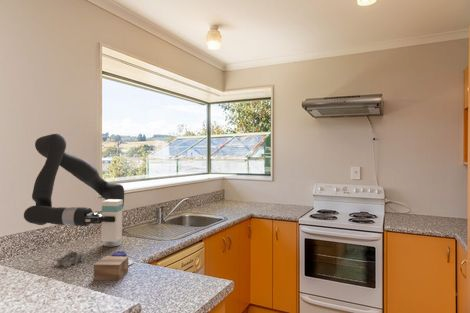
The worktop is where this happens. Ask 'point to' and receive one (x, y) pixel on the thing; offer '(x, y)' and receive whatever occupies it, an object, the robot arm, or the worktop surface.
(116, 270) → the brown square block
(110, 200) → the milk carton
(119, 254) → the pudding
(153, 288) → the worktop surface
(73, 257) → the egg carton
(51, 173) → the robot arm
